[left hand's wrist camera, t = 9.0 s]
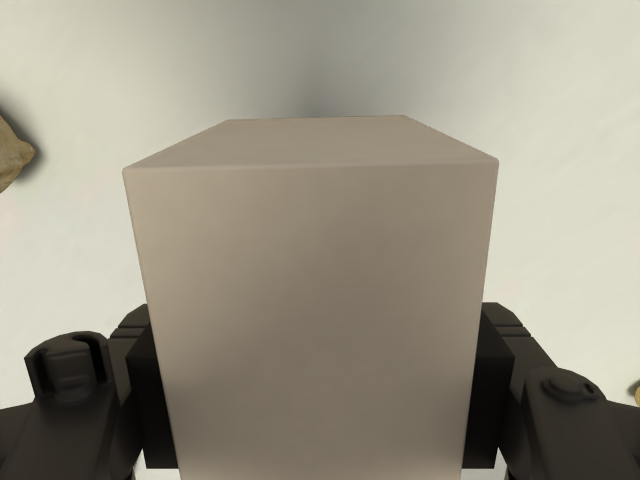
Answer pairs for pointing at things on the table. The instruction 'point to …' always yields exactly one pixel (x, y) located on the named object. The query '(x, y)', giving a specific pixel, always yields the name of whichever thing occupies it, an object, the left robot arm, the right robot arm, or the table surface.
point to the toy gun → (637, 396)
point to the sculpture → (12, 155)
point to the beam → (315, 295)
